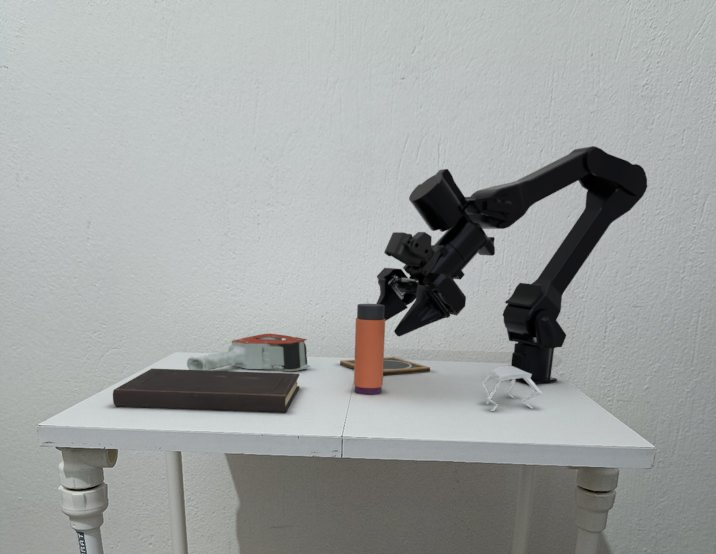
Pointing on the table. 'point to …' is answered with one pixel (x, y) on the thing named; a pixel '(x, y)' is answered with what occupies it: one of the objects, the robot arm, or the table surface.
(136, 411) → the table surface
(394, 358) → the square coaster
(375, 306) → the dot marker
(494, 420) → the table surface
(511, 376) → the white legged figure
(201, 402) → the hardcover book
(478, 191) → the robot arm
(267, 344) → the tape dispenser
